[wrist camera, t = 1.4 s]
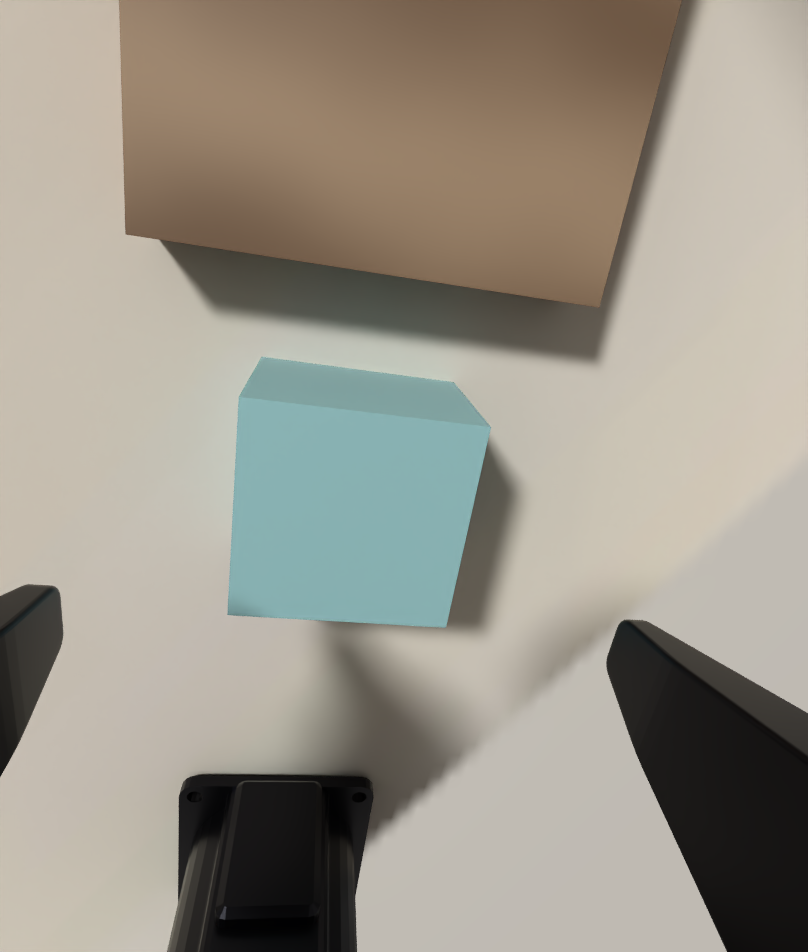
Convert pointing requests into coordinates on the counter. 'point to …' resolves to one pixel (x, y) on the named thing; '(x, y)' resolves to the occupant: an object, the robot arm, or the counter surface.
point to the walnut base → (394, 132)
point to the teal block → (351, 494)
